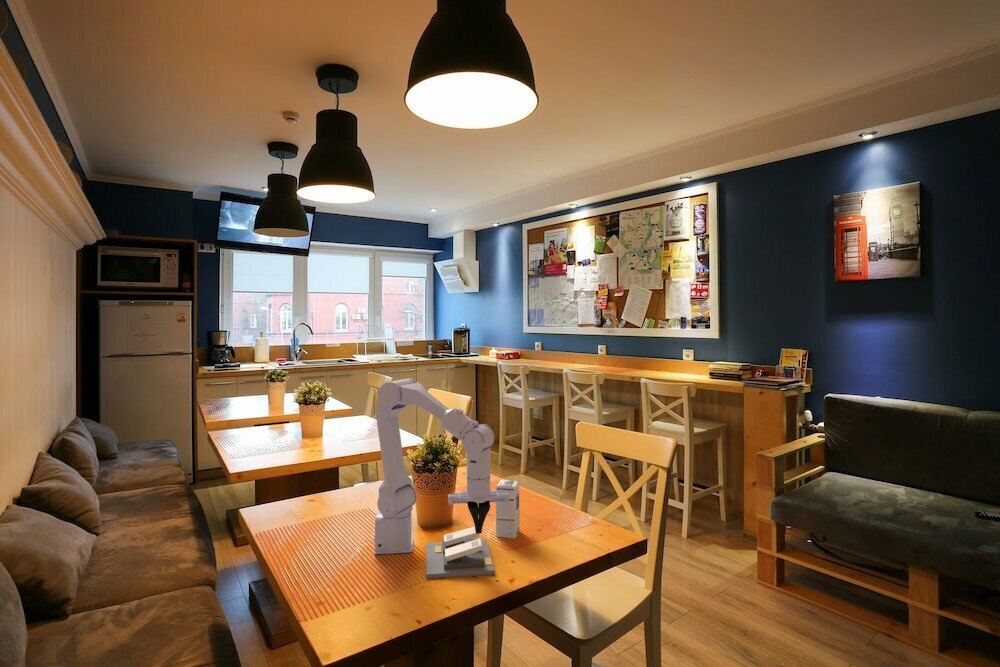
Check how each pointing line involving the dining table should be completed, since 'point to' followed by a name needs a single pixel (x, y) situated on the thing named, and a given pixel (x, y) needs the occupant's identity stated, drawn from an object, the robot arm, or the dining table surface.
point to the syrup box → (508, 510)
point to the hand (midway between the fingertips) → (478, 531)
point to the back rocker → (460, 536)
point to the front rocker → (463, 549)
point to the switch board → (457, 561)
